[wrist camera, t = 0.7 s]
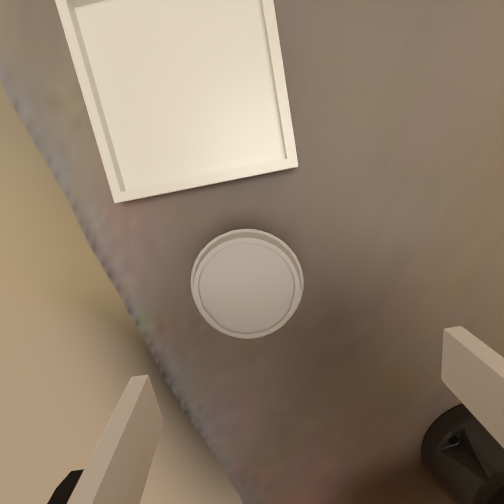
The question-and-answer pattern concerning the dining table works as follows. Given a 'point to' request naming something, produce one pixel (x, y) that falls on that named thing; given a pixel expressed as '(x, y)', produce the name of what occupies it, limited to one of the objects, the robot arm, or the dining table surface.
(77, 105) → the dining table surface
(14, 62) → the dining table surface
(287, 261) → the disposable coffee cup
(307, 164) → the dining table surface
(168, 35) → the tray
